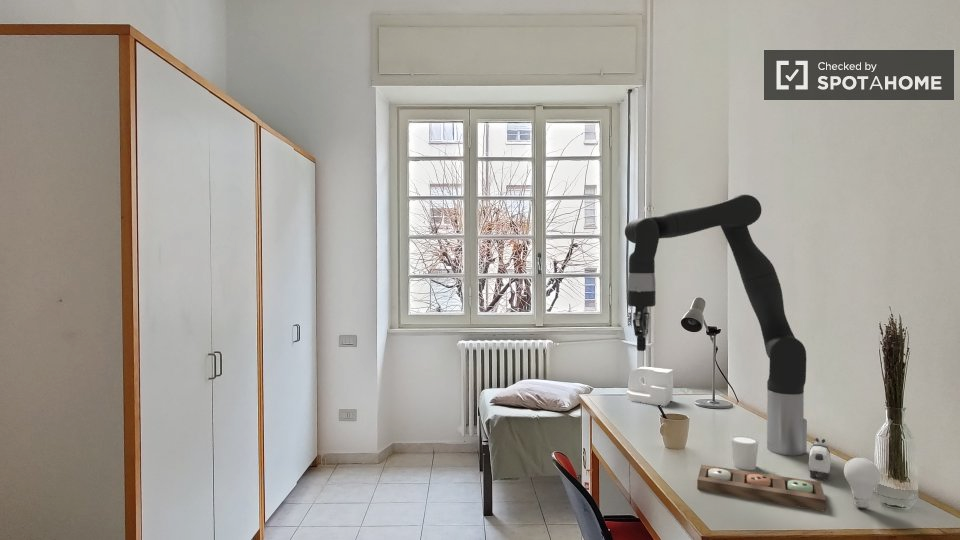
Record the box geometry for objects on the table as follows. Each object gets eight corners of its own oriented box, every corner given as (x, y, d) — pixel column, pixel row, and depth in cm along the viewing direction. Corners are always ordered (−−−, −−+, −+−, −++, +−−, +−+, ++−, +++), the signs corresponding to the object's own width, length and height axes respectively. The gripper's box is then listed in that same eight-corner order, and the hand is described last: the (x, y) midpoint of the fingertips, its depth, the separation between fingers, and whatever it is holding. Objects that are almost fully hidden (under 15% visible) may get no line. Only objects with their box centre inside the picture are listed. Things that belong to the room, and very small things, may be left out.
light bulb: (836, 502, 127) (836, 453, 126) (864, 501, 127) (864, 452, 127) (858, 515, 120) (859, 464, 120) (887, 514, 121) (888, 463, 120)
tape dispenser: (672, 402, 218) (673, 369, 218) (664, 407, 209) (664, 374, 209) (632, 396, 227) (632, 365, 227) (623, 401, 218) (623, 369, 218)
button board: (820, 492, 132) (820, 482, 132) (825, 511, 122) (825, 499, 122) (701, 474, 143) (701, 464, 143) (697, 490, 134) (697, 479, 133)
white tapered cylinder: (746, 472, 145) (746, 445, 145) (724, 464, 151) (724, 438, 151) (764, 468, 148) (764, 441, 148) (741, 459, 154) (741, 434, 154)
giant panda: (830, 482, 138) (830, 449, 138) (808, 478, 141) (808, 446, 140) (830, 467, 148) (831, 436, 148) (810, 463, 151) (810, 433, 151)
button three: (770, 485, 134) (770, 475, 134) (770, 493, 129) (770, 482, 129) (746, 481, 136) (746, 471, 136) (746, 489, 132) (746, 479, 132)
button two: (811, 491, 130) (811, 481, 130) (813, 500, 126) (813, 489, 126) (786, 487, 132) (787, 477, 132) (788, 495, 128) (788, 485, 128)
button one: (731, 479, 138) (731, 469, 138) (730, 486, 133) (730, 476, 133) (709, 475, 140) (709, 466, 140) (707, 483, 135) (707, 473, 135)
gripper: (632, 288, 167) (632, 346, 167) (623, 290, 155) (623, 353, 155) (659, 288, 163) (658, 348, 164) (651, 290, 152) (651, 355, 152)
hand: (641, 350), depth 159 cm, fingers closed
